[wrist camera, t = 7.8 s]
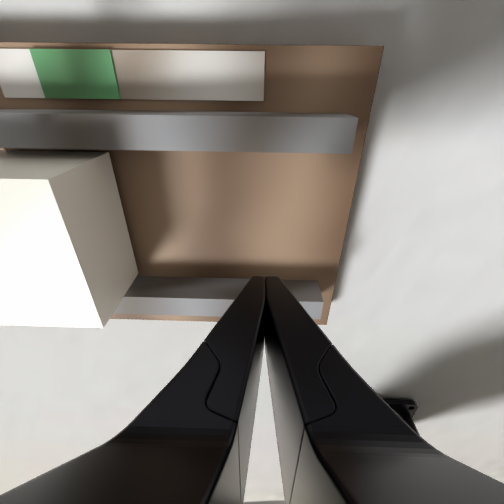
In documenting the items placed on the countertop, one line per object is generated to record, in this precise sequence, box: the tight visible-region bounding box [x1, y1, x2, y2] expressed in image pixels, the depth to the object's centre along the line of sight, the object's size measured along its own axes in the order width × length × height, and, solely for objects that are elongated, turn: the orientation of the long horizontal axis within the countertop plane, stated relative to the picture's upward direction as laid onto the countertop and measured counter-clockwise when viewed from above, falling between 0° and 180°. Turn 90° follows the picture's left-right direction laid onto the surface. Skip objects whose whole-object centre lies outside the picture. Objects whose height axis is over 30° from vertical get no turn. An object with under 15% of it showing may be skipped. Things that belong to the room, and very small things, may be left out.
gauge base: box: [0, 42, 384, 325], centre depth 12 cm, size 24×14×6 cm, turn 89°
